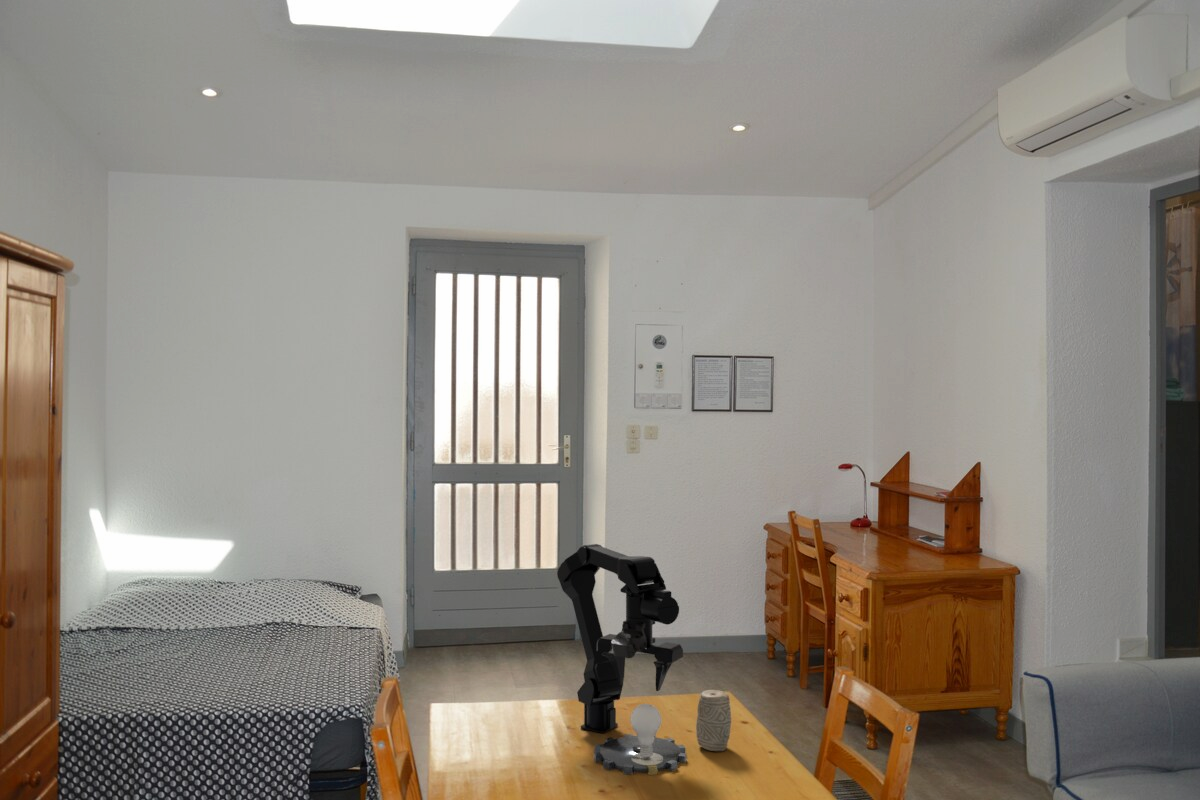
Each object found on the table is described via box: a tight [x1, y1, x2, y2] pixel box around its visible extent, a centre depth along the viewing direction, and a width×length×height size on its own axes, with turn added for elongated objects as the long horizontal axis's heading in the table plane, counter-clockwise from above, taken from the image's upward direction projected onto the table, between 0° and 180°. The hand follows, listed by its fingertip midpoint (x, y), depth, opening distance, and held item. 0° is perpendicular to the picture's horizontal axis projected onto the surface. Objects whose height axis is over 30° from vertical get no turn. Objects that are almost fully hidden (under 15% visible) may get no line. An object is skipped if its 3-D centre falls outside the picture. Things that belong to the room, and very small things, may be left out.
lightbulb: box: [630, 703, 662, 758], centre depth 201 cm, size 6×6×11 cm
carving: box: [695, 689, 732, 752], centre depth 211 cm, size 6×8×12 cm
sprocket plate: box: [593, 733, 687, 776], centre depth 206 cm, size 19×19×2 cm
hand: (639, 687), depth 212 cm, fingers open, 9 cm apart
